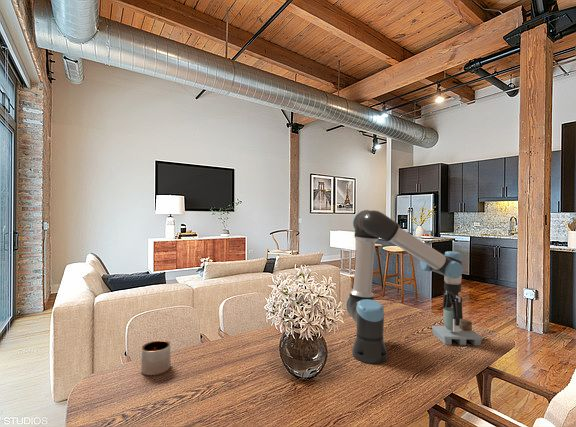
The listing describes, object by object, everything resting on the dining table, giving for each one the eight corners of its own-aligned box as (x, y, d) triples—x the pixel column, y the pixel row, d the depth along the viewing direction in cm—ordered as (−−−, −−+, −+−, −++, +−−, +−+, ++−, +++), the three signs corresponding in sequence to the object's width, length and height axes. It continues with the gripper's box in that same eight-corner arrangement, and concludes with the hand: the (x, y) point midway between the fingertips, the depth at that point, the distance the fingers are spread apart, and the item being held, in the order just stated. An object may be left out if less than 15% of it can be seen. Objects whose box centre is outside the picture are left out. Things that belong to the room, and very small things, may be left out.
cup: (456, 326, 159) (457, 307, 159) (463, 333, 151) (464, 312, 151) (440, 326, 159) (441, 306, 159) (446, 332, 152) (447, 311, 152)
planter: (176, 364, 129) (176, 341, 129) (158, 378, 118) (158, 353, 118) (153, 361, 132) (153, 338, 131) (134, 374, 121) (134, 349, 121)
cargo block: (463, 331, 157) (463, 322, 157) (457, 327, 162) (457, 319, 162) (471, 330, 158) (471, 321, 158) (465, 327, 163) (465, 318, 162)
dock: (444, 344, 150) (444, 336, 150) (431, 333, 164) (431, 325, 164) (482, 345, 150) (482, 337, 150) (466, 333, 164) (466, 326, 164)
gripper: (472, 288, 144) (471, 336, 145) (450, 278, 165) (449, 320, 165) (455, 287, 145) (454, 336, 145) (435, 277, 165) (434, 320, 166)
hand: (451, 328), depth 155 cm, fingers closed on cup, 8 cm apart
